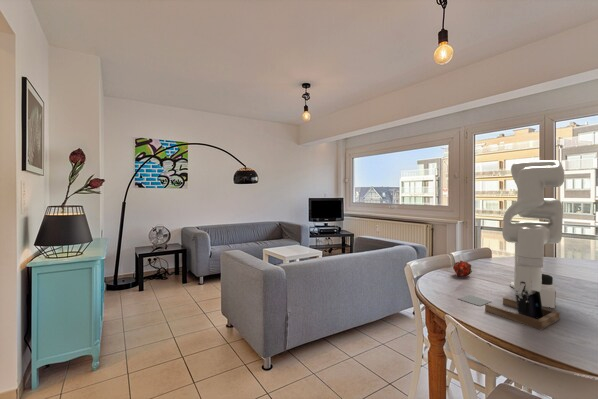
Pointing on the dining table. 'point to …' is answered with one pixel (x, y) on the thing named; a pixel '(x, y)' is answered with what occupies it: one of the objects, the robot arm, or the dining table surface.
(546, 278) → the medicine bottle
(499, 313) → the walled lane
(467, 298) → the mat
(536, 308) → the speaker
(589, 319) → the dining table surface
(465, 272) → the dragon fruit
